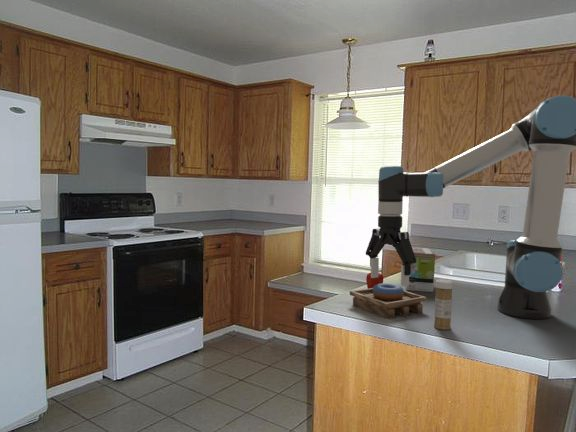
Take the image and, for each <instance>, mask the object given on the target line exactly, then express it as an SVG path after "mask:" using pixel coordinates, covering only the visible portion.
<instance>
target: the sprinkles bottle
mask: <svg viewBox="0 0 576 432" xmlns="http://www.w3.org/2000/svg"><path fill="white" fill-rule="evenodd" d="M434 285H435V286H434V287H435V298H434V299H435V300H434V323H433V327H435V329H438V330H443V331H447V330H450V329H451V327H452V326H451V323H452V320H451V319H452V304H453V298H452V297H453V296H452V295H453V293H452V292H453V289H454V287H453V286H454V282H453V280H449V279H442V278H440V279H436V280H435V283H434Z"/></svg>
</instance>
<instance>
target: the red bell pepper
mask: <svg viewBox="0 0 576 432" xmlns="http://www.w3.org/2000/svg"><path fill="white" fill-rule="evenodd" d="M365 282H366V287H367V288H366V289H369V288H373V287H374V286H375V285H377V284H382V283H384V275H383V273H380V272H379V275H378V277H377V278H371V272H369V273H367V274H366V280H365ZM372 293H373V292H372Z"/></svg>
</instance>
